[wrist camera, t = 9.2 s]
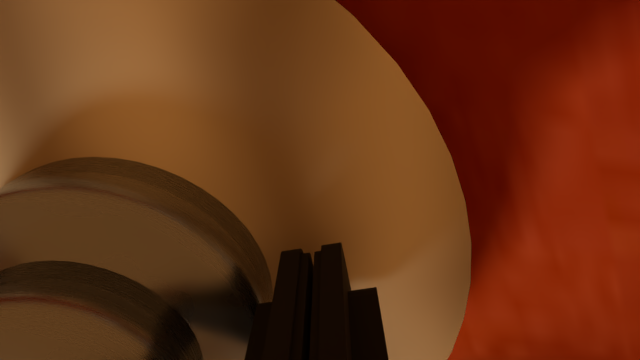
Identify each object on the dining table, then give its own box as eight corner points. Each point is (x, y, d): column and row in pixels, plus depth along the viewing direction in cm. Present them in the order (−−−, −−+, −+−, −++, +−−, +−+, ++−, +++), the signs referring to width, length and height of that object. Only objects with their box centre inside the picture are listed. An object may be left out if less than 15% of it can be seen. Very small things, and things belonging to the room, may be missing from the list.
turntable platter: (417, -216, 9) (442, -273, 7) (468, 419, 18) (485, 469, 16) (-384, 5, 11) (-531, 8, 9) (24, 471, 20) (-7, 521, 18)
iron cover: (237, 136, 10) (177, 234, 6) (295, 377, 14) (282, 537, 10) (-84, 178, 11) (-332, 293, 7) (54, 398, 15) (-52, 557, 11)
